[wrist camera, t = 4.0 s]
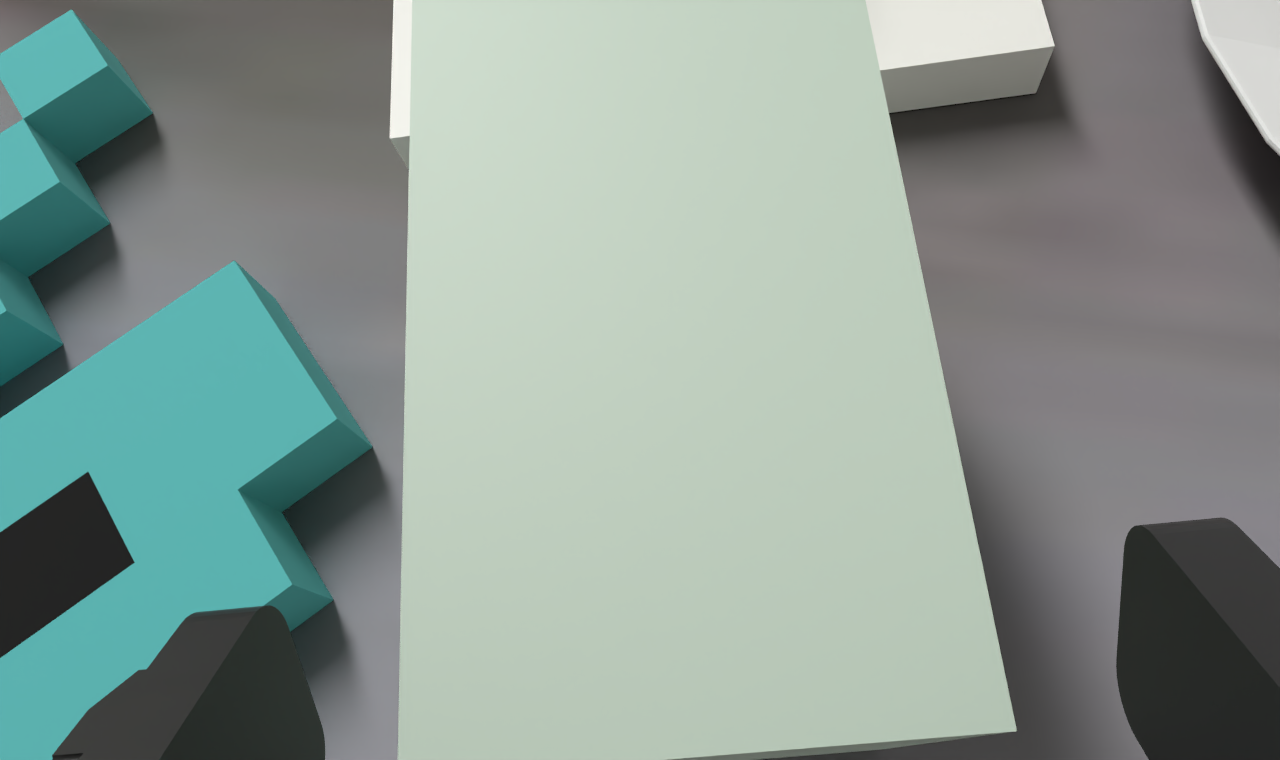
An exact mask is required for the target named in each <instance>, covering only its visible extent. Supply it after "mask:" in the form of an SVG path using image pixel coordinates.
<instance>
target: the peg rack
mask: <svg viewBox="0 0 1280 760" xmlns="http://www.w3.org/2000/svg"><path fill="white" fill-rule="evenodd" d="M865 1H866V6H867V10H868V15H869V20H870V25H871V30H872V35H873V39H874V44H875V49H876V54H877V59H878V63H879V68H880V73H881V78H882V83H883V88H884V92H885V97H886V102H887V107H888V112H889V113H893V112H900V111H908V110H915V109H922V108H930V107H937V106H945V105H952V104H959V103H967V102H974V101H982V100H989V99H996V98H1004V97H1011V96H1019V95H1026V94H1033V93H1036V92H1037V89H1038V87H1039V84H1040V82H1041V79H1042V77H1043V74H1044V72H1045V69H1046V67H1047V64H1048V62H1049V59H1050V57H1051V54H1052V52H1053V49H1054V47H1055V45H1054V42H1053V39H1052V35H1051V32H1050V29H1049V25H1048V22H1047V18H1046V15H1045V12H1044V8H1043V5H1042V1H1041V0H865ZM411 40H412V0H394V6H393V42H392V78H391V114H390V140H391V141H392V143H393V145H394V146H395V148H396V150H397V151H398V153H399V155H400V156H401V158H402V160H403V161H404V163H405V165H406V166H407V168H408V170H409V145H410V92H411Z"/></svg>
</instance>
